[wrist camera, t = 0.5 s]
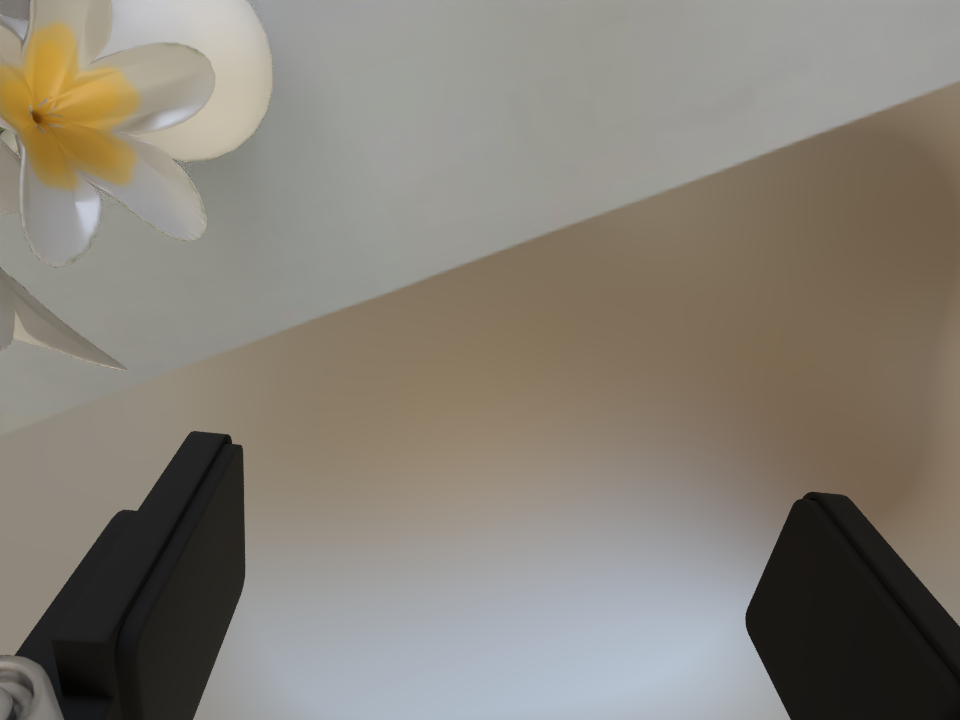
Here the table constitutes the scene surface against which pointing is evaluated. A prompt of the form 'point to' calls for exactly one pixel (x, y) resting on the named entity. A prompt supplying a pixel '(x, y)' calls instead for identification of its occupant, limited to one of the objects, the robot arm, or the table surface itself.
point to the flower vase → (117, 127)
